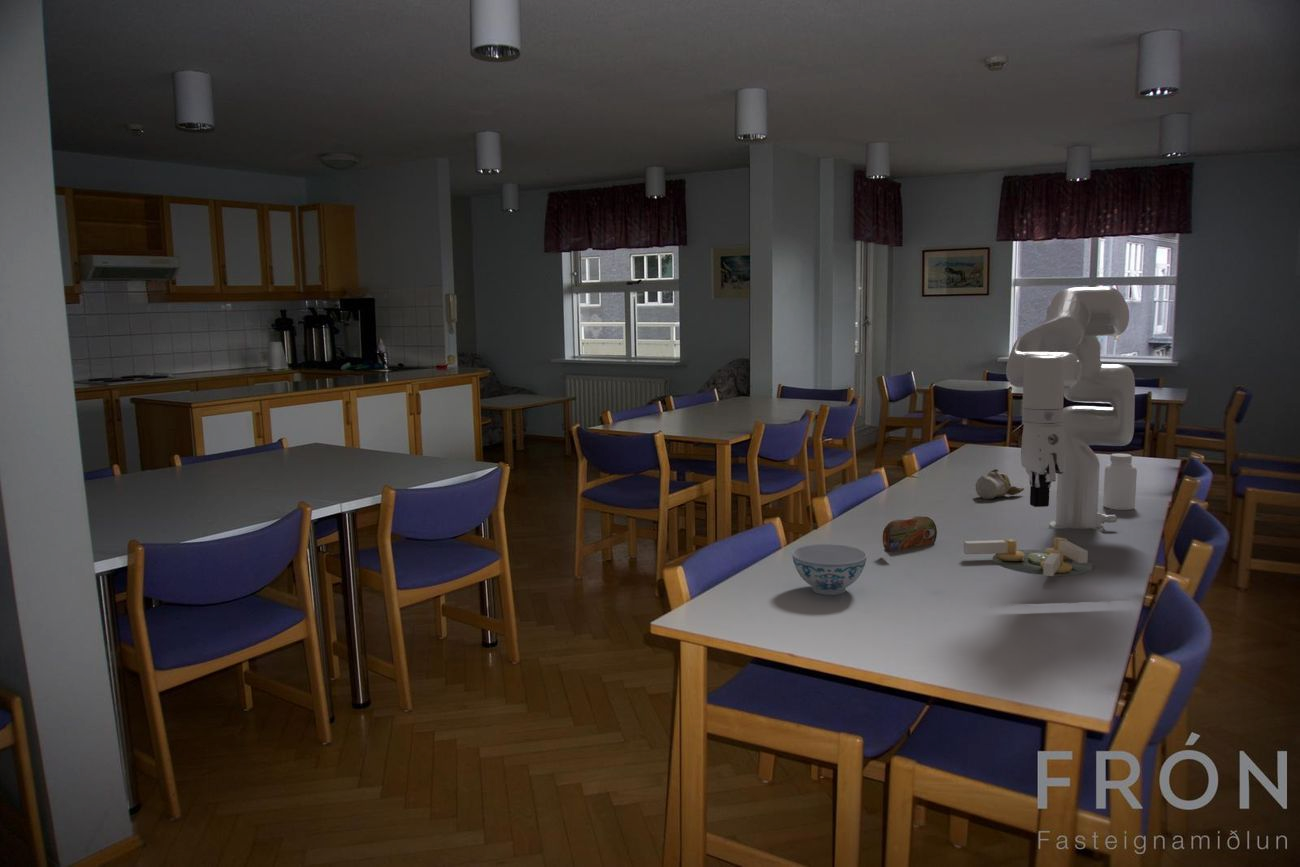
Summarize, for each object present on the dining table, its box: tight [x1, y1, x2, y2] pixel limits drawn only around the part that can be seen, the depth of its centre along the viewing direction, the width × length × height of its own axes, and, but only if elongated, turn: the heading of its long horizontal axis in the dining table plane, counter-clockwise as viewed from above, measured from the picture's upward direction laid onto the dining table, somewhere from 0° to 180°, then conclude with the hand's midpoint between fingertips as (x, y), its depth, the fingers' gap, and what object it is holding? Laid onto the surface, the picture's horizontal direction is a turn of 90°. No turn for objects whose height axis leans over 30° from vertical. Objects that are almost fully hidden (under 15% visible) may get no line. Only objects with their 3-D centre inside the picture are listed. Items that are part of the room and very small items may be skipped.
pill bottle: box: [1102, 452, 1138, 511], centre depth 250 cm, size 8×8×15 cm
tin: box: [882, 515, 938, 553], centre depth 210 cm, size 15×3×8 cm, turn 117°
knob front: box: [1040, 550, 1072, 577], centre depth 185 cm, size 13×6×4 cm, turn 147°
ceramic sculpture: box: [975, 468, 1025, 500], centre depth 269 cm, size 11×9×15 cm
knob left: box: [963, 538, 1025, 561], centre depth 198 cm, size 13×6×4 cm, turn 92°
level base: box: [992, 549, 1093, 576], centre depth 195 cm, size 20×20×3 cm
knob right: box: [1044, 536, 1089, 563], centre depth 195 cm, size 13×6×4 cm, turn 2°
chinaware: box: [791, 543, 868, 596], centre depth 183 cm, size 15×15×8 cm
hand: (1039, 505), depth 183 cm, fingers closed
